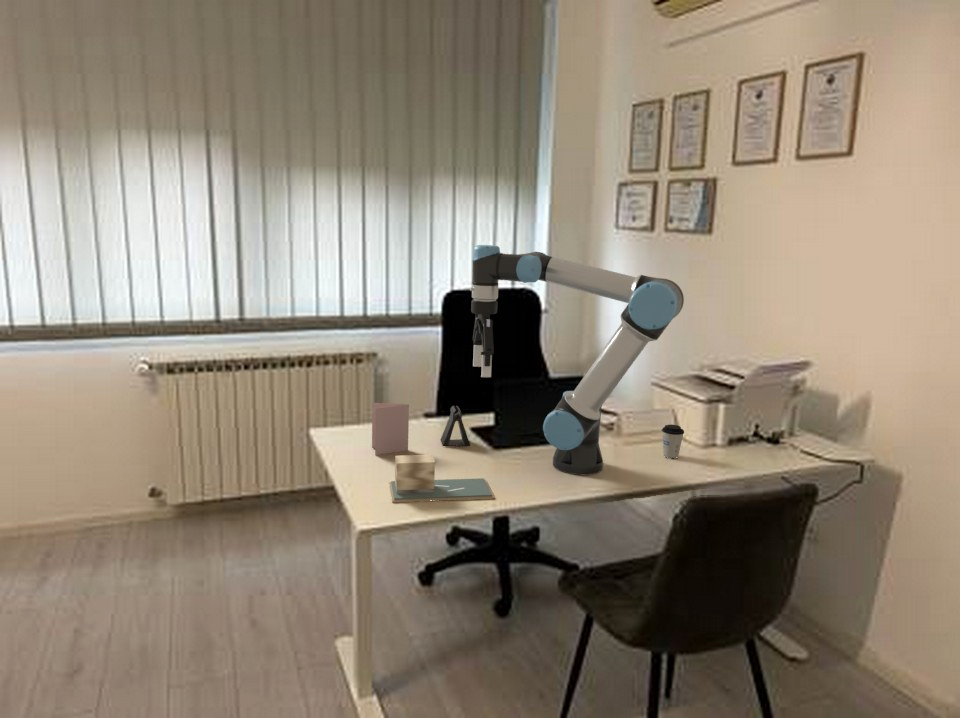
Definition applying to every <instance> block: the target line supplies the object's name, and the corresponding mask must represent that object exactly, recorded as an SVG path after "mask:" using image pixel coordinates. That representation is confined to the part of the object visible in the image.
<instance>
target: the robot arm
mask: <svg viewBox="0 0 960 718" xmlns="http://www.w3.org/2000/svg"><path fill="white" fill-rule="evenodd" d="M471 262H472V279H471V280H472V282H471V287H469V291H470V292H471V298H472V300H471V302H470V303H471V305H470V306H471V308H470V311H471V313H472V314H474V315H475V318H474V326H473V333H472V334H473V335H472V339H471V340H472V341H473V342H472V343H473V354H472V355H473V359H472V367H478V368H480V367H481V375H480V377H481V378H492V367H493V366H492V363H493V361H492V360H493V355H494V353H495V349H494V347H495V346H494V332H493V331H494V329H493V323H494V321H493V319H491V317H490V316H492V315H496V314H497V313H498V301H497V300H498V298H499V281H509V282H518V283H524V284H526V283H537V282H538V281H541V282H546V283H551V284H555V285H557V286H560V287H561V286H562V287H564V288H565V287H566V288H569V289H573V290H577V291H581V292H584V293H587V294H591V295H596V296H599V297H604V298H608V299H611V300H615V301H618V302H622V303H627V305H626V306H625V308H624V309H623V311H622V312H621V314H620V319H621V324H620V325H619V327H618V328H617V330H616V331H615V332H614V334H613V335H612V337H611V338H610V339H609V341H608V342H607V343H606V345H605V346H604V347H603V349H602V350H601V352H600V353H599V355H598V356H597V358H596V360H595V361H594V362H593V363H592V365H591V366H590V367H589V369H588V371H587V372H586V373H585V375H584V376H583V377H582V379H581V380H580V382H579V383H578V385H577V386H576V387H575V389H574V390H566V391H563V393H562V397H561V399H560V400H559V402H558V403H557V405H556V407H554V409H553V410H552V411H551V412H549V413H548V414H547V416H546V417H545V419H544V421H543V425H542V431H543V434H544V437H545V439H546V440H547V442H548V443H549V445H551V446H552V447H554V448H555V451H554V453H553V456H552V467H554V468H555V469H556V470H558V471H560V472H563V473H567V474H573V475H581V474H586V475H593V473H594V474H597V472H598V473H600V472H602V470H603V469H604V459H603V455H602V450H601V447H600V431H601V420H602V419H601V417H602V407H603V405H604V403H605V402H606V401H607V399H608V398H609V396H610V395H611V394H612V392H613V391H614V389H615V388H616V387H617V385H618V384H619V383H620V382H621V381H622V379H623V377H624V376H625V375H626V373H627V372H628V371H629V369H630V368H631V366H632V365H633V363H634V362H635V361H636V360H637V359H638V357H639V355H640V354H642V352H643V350H644V348H646V346H647V345H648V343H650V342H655V341H658V339H659V338H660V337H661V335H662V334H663V333H664V331H665V330H666V328H667V327H668V326H669V324H670V323H671V322H672V320H673V319H675V318H676V317H677V316H678V315H679V314H680V312H682V309H683V308H684V303H685V298H684V297H685V296H684V293H683V290H682V288H681V287H680V286H679V285H678V284H677V283H676V282H674V281H673V280H671V279H668V278H662V277H654V276H648V275H643V274H640V275H638V276H633V275H628V274H624V273H621V272H615V271H612V270H608V269H603V268H600V267H595V266H591V265H587V264H583V263H580V262H577V261H576V262H575V261H571V260H567V259H564V258H558V257H555V256H551V255H547V254H546V253H544V252H540V251H532V252H528V253H519V254H515V253H503V252H501V249H500V246H498V245H491V244H489V245H488V244H478V245H476V246H475V247H474V248H473V255H472V261H471ZM602 468H603V469H602ZM599 471H600V472H599Z"/></svg>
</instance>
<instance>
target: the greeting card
mask: <svg viewBox="0 0 960 718" xmlns="http://www.w3.org/2000/svg"><path fill="white" fill-rule="evenodd" d="M409 408H410V405H409V403H389V402H387V403H386V402H372V403H371V409H372V410H371V412H372V413H371V449H372V448H375V449H374V456H375V455H377V456H381V454H383V455H388V454H392V453H393V452H394V453H398V452H405V450H406V451H408V450H409V426H410V425H409V422H410V421H409V419H410V417H409V415H410V409H409ZM387 453H388V454H387Z"/></svg>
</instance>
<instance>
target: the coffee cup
mask: <svg viewBox="0 0 960 718" xmlns="http://www.w3.org/2000/svg"><path fill="white" fill-rule="evenodd" d="M661 431H662V454H663V455H662V456H663V457H664V456H665V457H668V458H676V457H678V458H679V455H680V452H681V451H680V449H681V447H682V446H681V445H682V440H683V436H684V434H685V430H684V429H683V428H682V427H681V425H677V424H665V425H664V427H662V429H661ZM665 457H664V458H665ZM668 458H667V459H668Z"/></svg>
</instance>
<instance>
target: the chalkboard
mask: <svg viewBox="0 0 960 718" xmlns="http://www.w3.org/2000/svg"><path fill="white" fill-rule="evenodd" d="M388 484H389V485H390V486H389V485H388V486H389V491H390V498H391V497H392V498H391V502H392V504H395V503H396V502H400V503H415V502H414V501H427V502H434V501H433V500H454V501H468V500H467V499H480V500H494V499H495V496H494V493H493V492H492V490H491V487H490V486H489V484H488V482H487V480H486V478H483V477H482V478H481V477H480V478H455V479H434V492H431V493H405V494H397V493H396V488H395V480H394V481H393V480H391V481H389V482H388ZM430 500H432V501H430Z"/></svg>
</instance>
